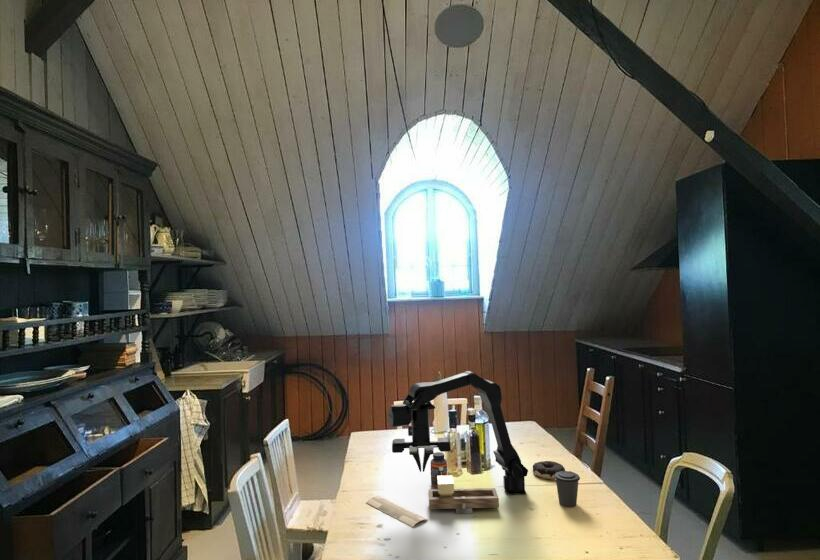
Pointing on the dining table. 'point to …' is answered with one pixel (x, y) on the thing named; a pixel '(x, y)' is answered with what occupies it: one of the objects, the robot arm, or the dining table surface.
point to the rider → (445, 486)
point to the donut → (547, 469)
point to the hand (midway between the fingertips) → (422, 471)
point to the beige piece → (395, 510)
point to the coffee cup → (567, 488)
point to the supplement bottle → (438, 467)
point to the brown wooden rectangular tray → (465, 499)
